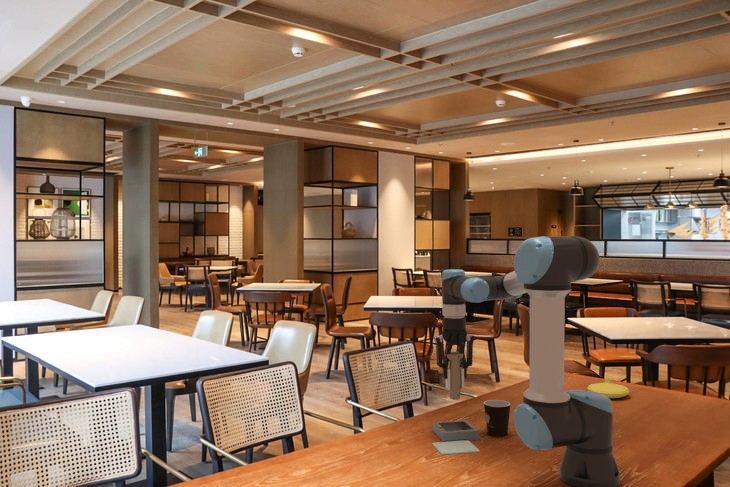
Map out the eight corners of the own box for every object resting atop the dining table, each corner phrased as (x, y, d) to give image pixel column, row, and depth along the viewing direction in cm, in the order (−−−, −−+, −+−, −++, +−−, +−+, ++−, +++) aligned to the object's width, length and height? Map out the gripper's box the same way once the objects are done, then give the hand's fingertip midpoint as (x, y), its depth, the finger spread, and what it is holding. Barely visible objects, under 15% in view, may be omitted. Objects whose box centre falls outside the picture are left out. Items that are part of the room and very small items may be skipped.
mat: (479, 451, 186) (479, 450, 186) (441, 455, 184) (441, 453, 184) (468, 441, 196) (468, 440, 196) (432, 444, 194) (432, 442, 194)
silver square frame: (479, 439, 198) (479, 429, 198) (443, 442, 195) (443, 432, 195) (466, 428, 209) (466, 418, 209) (432, 431, 207) (432, 421, 207)
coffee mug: (511, 438, 198) (510, 407, 198) (484, 437, 200) (483, 406, 200) (510, 427, 210) (509, 398, 210) (484, 426, 212) (484, 397, 211)
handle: (442, 398, 203) (442, 353, 203) (458, 395, 206) (457, 351, 206) (451, 401, 199) (450, 355, 199) (467, 399, 202) (466, 353, 202)
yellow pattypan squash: (632, 394, 251) (632, 377, 251) (625, 403, 238) (625, 385, 238) (592, 390, 259) (591, 373, 259) (583, 398, 246) (583, 380, 246)
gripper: (474, 314, 207) (475, 383, 208) (425, 316, 204) (426, 386, 204) (482, 317, 200) (483, 389, 200) (432, 319, 197) (433, 392, 197)
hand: (454, 387), depth 202 cm, fingers closed on handle, 4 cm apart
